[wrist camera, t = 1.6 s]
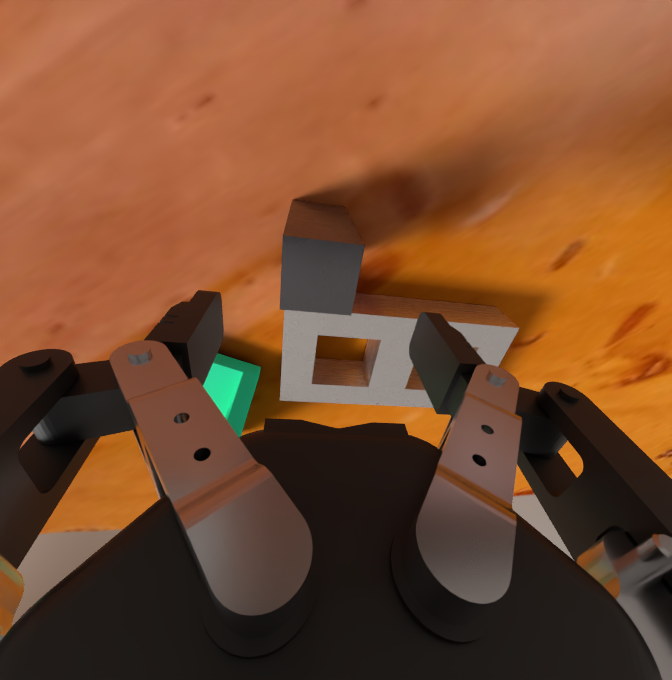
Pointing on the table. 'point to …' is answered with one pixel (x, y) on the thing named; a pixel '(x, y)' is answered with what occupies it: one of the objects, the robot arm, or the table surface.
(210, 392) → the camera mount
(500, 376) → the robot arm
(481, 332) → the rail
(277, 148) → the table surface
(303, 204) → the peg
